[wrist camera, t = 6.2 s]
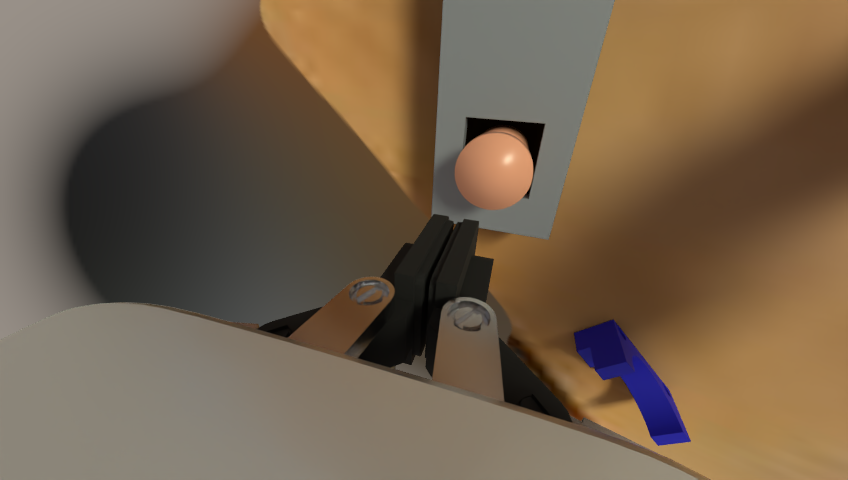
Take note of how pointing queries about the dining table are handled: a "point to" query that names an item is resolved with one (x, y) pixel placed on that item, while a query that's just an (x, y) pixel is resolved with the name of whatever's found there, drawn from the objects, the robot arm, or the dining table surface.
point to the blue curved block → (633, 379)
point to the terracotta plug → (495, 168)
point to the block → (515, 94)
